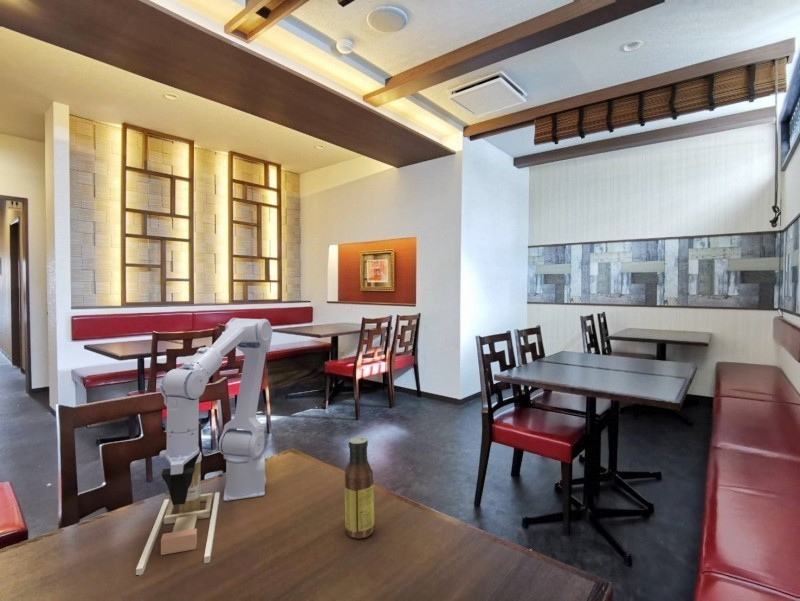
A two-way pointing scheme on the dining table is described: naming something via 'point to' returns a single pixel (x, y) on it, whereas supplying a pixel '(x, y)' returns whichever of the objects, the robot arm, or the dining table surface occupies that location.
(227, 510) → the dining table surface
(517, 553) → the dining table surface
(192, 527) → the sliding strip
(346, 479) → the sauce bottle
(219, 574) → the dining table surface
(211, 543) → the lane rails
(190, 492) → the sprinkles bottle
